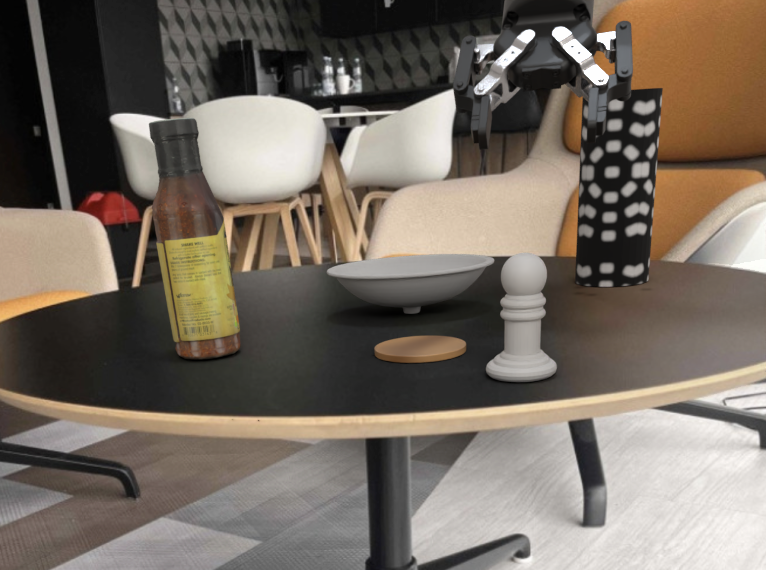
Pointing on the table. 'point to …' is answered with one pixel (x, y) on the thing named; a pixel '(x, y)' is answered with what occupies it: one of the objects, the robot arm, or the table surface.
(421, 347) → the cork coaster
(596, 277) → the spotted tube
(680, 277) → the table surface
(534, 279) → the chess piece
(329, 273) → the dish
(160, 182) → the sauce bottle
